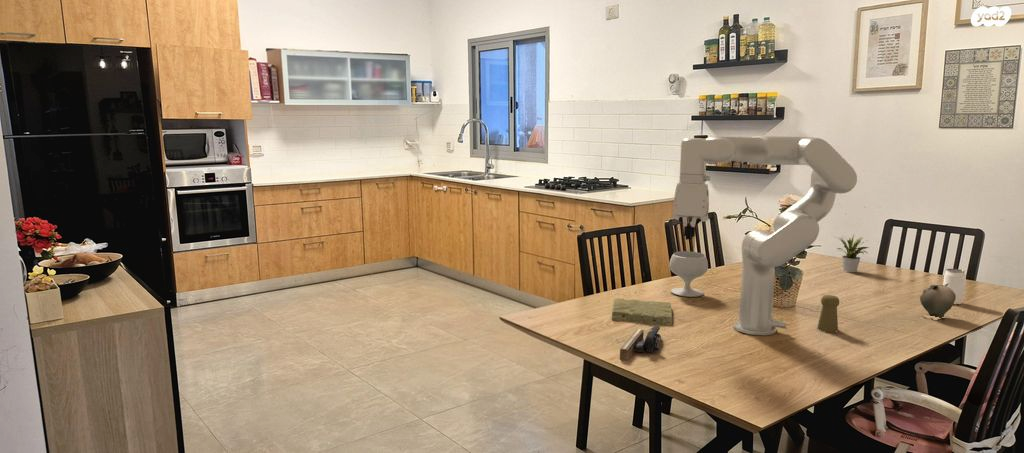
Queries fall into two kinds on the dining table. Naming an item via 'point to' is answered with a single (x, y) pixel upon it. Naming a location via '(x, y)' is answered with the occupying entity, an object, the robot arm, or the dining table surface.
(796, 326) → the dining table surface
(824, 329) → the cork
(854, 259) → the house plant
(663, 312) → the decorative tile
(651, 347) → the can opener
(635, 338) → the walnut rail
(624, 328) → the dining table surface
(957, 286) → the can
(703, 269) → the chalice
